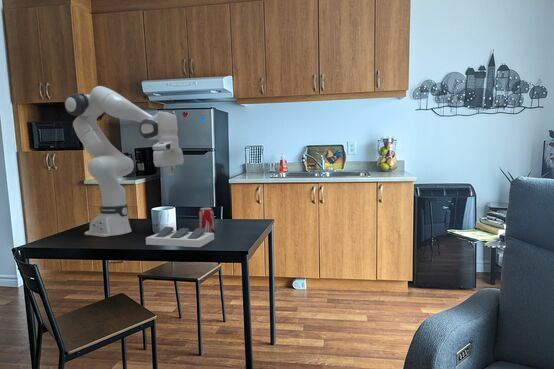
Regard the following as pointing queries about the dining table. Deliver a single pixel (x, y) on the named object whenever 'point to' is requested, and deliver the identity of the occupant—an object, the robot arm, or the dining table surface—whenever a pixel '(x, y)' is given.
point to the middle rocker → (180, 233)
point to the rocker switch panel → (180, 240)
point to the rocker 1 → (165, 232)
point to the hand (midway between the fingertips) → (170, 175)
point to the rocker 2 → (197, 233)
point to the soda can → (206, 219)
